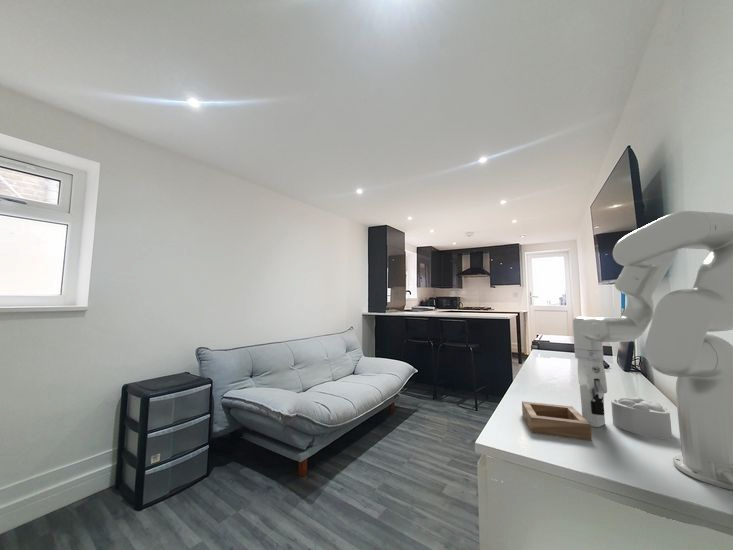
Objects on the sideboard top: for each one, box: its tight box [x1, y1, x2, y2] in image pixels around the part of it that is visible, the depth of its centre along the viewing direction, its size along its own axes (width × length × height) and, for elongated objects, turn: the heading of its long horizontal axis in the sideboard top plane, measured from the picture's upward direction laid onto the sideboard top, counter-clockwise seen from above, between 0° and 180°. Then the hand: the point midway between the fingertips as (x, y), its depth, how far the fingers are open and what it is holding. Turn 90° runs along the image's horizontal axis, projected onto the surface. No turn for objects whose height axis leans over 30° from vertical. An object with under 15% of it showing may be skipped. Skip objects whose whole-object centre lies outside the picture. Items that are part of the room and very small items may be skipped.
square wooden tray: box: [521, 401, 593, 441], centre depth 91 cm, size 15×15×4 cm
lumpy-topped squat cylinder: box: [611, 396, 673, 440], centre depth 90 cm, size 10×13×9 cm
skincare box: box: [579, 384, 606, 428], centre depth 94 cm, size 6×4×12 cm
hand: (592, 409), depth 94 cm, fingers closed on skincare box, 7 cm apart
